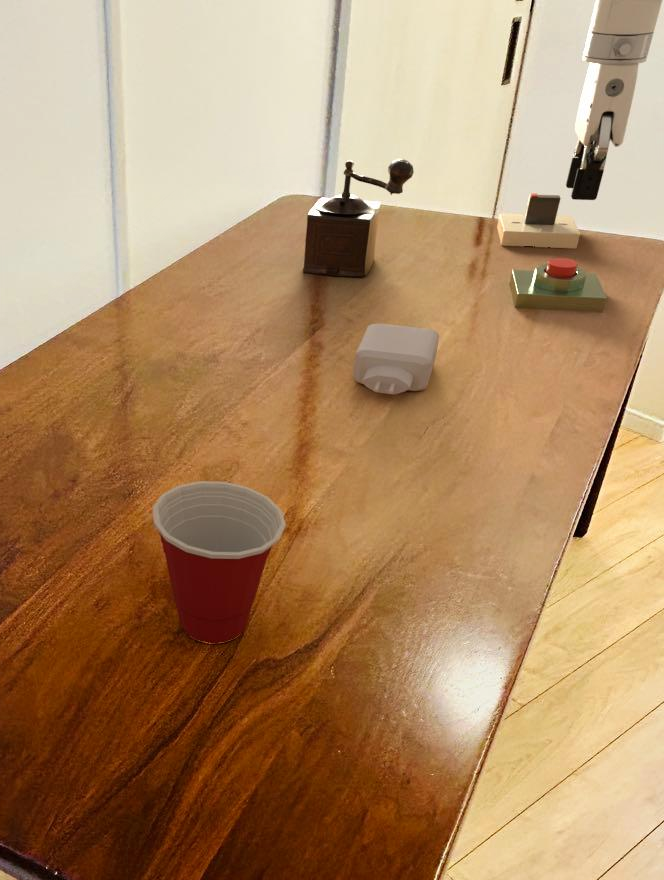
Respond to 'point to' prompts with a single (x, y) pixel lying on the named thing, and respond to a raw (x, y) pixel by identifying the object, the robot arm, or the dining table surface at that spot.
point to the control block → (557, 291)
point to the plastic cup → (216, 553)
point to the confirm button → (561, 267)
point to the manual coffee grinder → (348, 226)
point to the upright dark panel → (542, 209)
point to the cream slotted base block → (537, 232)
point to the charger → (395, 358)
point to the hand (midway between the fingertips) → (580, 191)
